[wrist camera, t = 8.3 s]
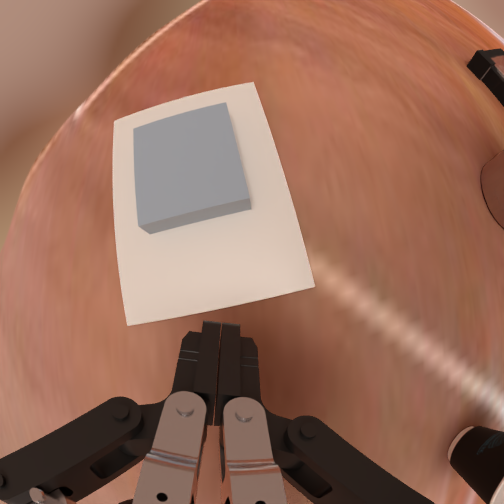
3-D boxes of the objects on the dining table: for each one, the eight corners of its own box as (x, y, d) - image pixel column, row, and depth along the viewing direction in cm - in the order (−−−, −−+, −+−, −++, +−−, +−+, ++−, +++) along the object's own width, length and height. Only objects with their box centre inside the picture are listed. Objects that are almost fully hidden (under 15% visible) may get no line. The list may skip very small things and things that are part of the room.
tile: (249, 197, 21) (226, 102, 23) (138, 226, 21) (133, 128, 23) (251, 209, 23) (229, 118, 25) (149, 234, 23) (142, 142, 25)
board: (313, 287, 22) (315, 286, 22) (130, 325, 22) (127, 325, 22) (253, 85, 27) (253, 82, 26) (116, 123, 27) (114, 120, 26)
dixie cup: (455, 479, 17) (504, 515, 6) (424, 464, 18) (478, 511, 7) (495, 425, 18) (552, 447, 7) (468, 403, 19) (537, 427, 8)
